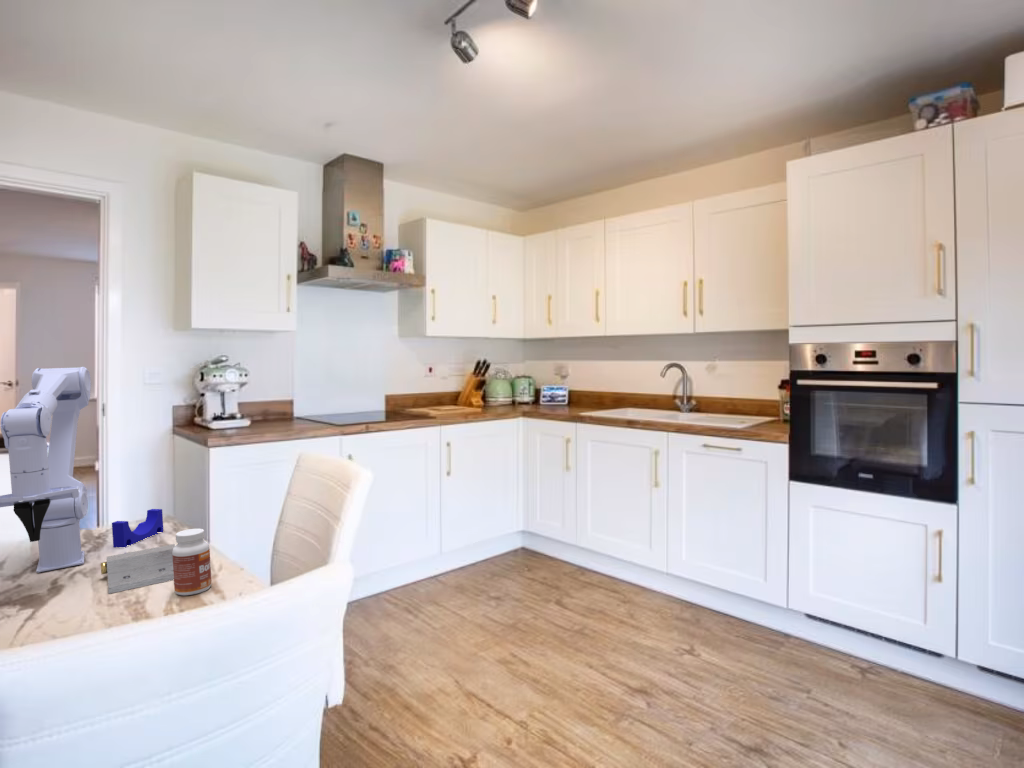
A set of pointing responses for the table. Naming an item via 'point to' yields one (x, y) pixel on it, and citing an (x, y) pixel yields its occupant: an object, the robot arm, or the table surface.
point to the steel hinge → (140, 568)
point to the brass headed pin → (103, 568)
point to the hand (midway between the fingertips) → (35, 540)
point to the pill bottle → (191, 562)
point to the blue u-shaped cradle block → (137, 529)
